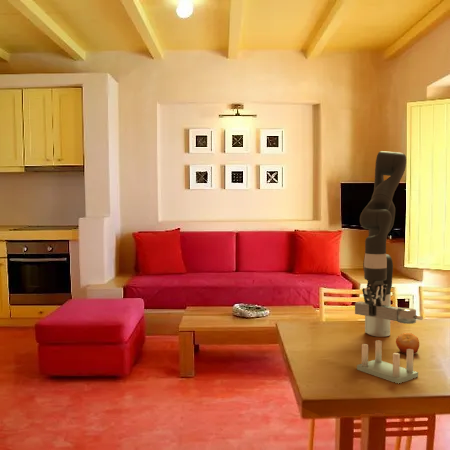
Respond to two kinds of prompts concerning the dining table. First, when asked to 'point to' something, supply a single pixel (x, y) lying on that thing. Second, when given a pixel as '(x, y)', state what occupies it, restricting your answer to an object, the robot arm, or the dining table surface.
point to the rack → (387, 365)
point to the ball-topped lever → (389, 313)
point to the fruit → (407, 342)
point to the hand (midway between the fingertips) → (375, 314)
